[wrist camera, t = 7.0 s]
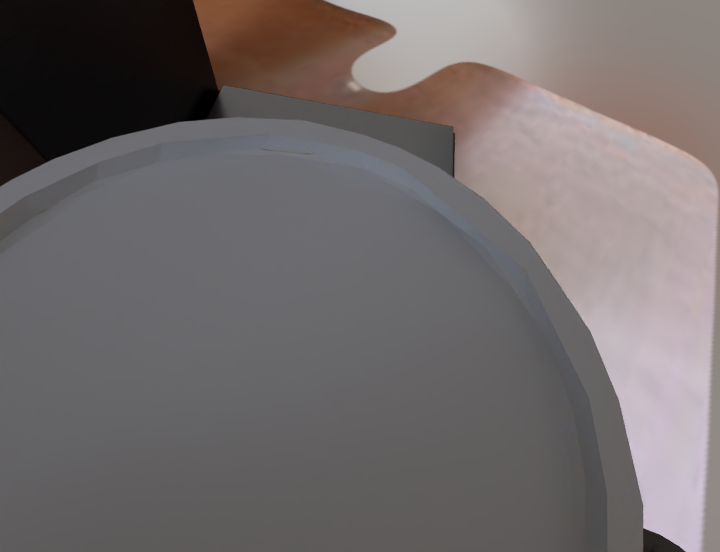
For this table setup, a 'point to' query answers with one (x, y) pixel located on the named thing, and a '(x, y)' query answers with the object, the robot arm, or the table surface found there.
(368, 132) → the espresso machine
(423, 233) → the disposable coffee cup
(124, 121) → the tower
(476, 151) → the table surface
